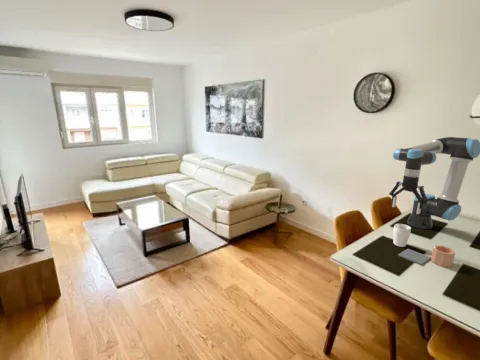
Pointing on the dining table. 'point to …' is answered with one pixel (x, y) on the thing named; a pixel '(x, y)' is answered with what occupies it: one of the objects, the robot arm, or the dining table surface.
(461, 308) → the dining table surface
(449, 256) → the pot
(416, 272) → the dining table surface
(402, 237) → the cup
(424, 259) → the mat
